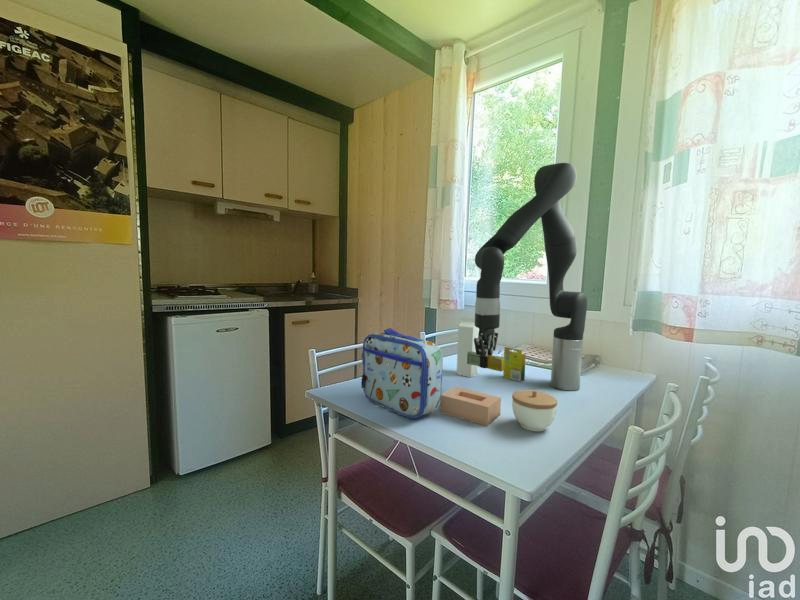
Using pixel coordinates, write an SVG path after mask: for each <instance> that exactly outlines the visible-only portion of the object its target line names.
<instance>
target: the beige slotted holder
mask: <svg viewBox="0 0 800 600" xmlns="http://www.w3.org/2000/svg"><path fill="white" fill-rule="evenodd" d="M501 407H502V397H501V396H498V395H493V394H489V393H484V392H480V391H476V390H472V389H467V388H463V387H459V386H454V387H452V388H450V389H448V390H447V391H445V392H443V393H441V399H440V405H439V413H440V414H445V415H448V416H451V417H455V418H458V419H463V420H465V421H469V422H471V423H476V424H479V425H483V426H486V427H488V426H490V425H491V424H492V423H493V422H494V421H495V420H496V419H498V418H499V417H500V416H501V410H502V409H501Z"/></svg>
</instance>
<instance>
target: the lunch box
mask: <svg viewBox="0 0 800 600" xmlns="http://www.w3.org/2000/svg"><path fill="white" fill-rule="evenodd" d="M443 355H444V354H443V351H442V350H441V348H440V346H439V345H438V344H436V343H434V342H432V341H429V340H425V339H422V338H417V337H415V336H410V335H404V334H402V333H400V332H397V331H396V330H394V329H393V328H392V327H389V328H386V329H384V330H383V332H381V333H376V332H375V333H371V334H368V335H367V336H365V338H364V340H363V344H362V353H361V357H360V358H361V359H362V360H361V361H362V364H363V365H362V375H361V389H363V393H364V395H365V397H366V399H368V400H369V401H370V402H371V403H374V404H376V405H378V406H380V407H383V408H384V409H387V410H388V411H390V412H394V413H396V414H399V415H400V416H401V415H402V416H405V417H407V418H409V419H410V418H411V419H420V417H422V416H424V415H427V414H432V413H435V412H437V411H438V409H440V399H441V394H442V384H443V383H442V380H443V365H444V356H443Z"/></svg>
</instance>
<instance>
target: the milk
mask: <svg viewBox="0 0 800 600" xmlns="http://www.w3.org/2000/svg"><path fill="white" fill-rule="evenodd" d="M457 331H458V332H457V354H456V355H457V356H456V357H457V358H456V375H457V374H459V375H458V376H461V375H463V377H466V376H467V377H466V378H473V377H474V376H476V375H478V368H479V366H475V365H470V364H467V353H468V352H470V351H473V352H476V349H475V344H474V338H478V333H479V328H477V327H475V317H467V316H462V317H461V321H460V323H459V325H458V326H457Z"/></svg>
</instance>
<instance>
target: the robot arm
mask: <svg viewBox="0 0 800 600" xmlns="http://www.w3.org/2000/svg"><path fill="white" fill-rule="evenodd" d="M577 173H578V172H577V170H576V168H575V166H574V165H573V164H571V163H569V162H560V163H559V162H558V163H552V164H546V165H544V166H541V167H539V168H538V170H537V171H536V174H535V175H534V181H533V182H534V185H533V186H534V192H535V196H533V197H532V198H531V199H530V200H529V201H528V202H526V203H525V204H524V205H522V206H521V207H519V208H518V209H517V210H516V211H514V212H513V213H512V214H511V215H510V216H509V217H508V218H507V219H506V220H505V221H504V223H502V225H501V226H500V228H499V229H498V230H497V231H496V233H494V235H493V236H492V237H491V238H489V239H488V240H486V242H485V243H484V244H483V245H482V246H481V247H480V248H479V249H478V251H477V252H476V254H475V255H474V263H475V266H476V267H477V268H478V269H480V277H479V279H478V280H477V282H476V291H475V295H476V298H475V305H474V318H475V327H477V328H479V333H478V338H474V344H475V349H476V354H477V355H479V356H480V367H479V368H480V369H488V368H487V358H488V357H487V355H493V354H494V352H496V348H497V342H498V337H499V332H495V331H496V329H498V328H499V327H500V321H501V320H500V319H501V318H500V317H501V302H500V301H501V300H500V297H501V296H500V292H501V291H500V289H501V287H500V286H501V282H502V281H501V280H502V279H503V278H502V277H503V272H504V267H505V256H504V255H505V254H506V252H507V251H509V250H511V249H513V248H515V246H517V244H518V243H519V242H520V241H521V240H522V238H523V237H524V236H525V235H526V234H527V232H528V231H529V230H530V229H531V228H532V227H533V226H534V224H536V222H537V221H539V220H540V219H541V220H540V221H541V225H542V226H541V227H542V235H543V243H544V251H545V257H546V264H547V272H548V285H549V286H548V291H549V292H548V293H549V295H548V297H549V308H550V311H551V314H552V315H553V316H554V317H555V318H556V317H557V318H562V319H570V321H569V323H568V324H567V325H564V326H558V327H556V328H554V329H553V338H552V354H551V356H552V357H551V371H550V373H551V374H550V385H551V386H552V387H554V388H556V389H558V390H565V391H578V390H580V388H581V387H580V386H581V375H582V361H583V358H582V357H583V343H584V333H585V327H586V319H587V317H586V316H587V310H588V297H587V295H586V294H585V293H584V292H581V291H569V290H568V291H566V290H564V278H565V277H566V274H567V273H568V271H569V269H570V268H571V266H572V265H573V262H574V261H575V259H576V256H577V241H576V235H575V231H574V229H573V226H572V225H571V223H570V222H569V220H568V218H567V217H566V216H565V214H564V212H563V209H562V206H561V200H562V198H564V197H565V196H566V195H567V194H568V193H569V192H570V191H572V189H573V188H574V187H575V184H576V182H577V179H578V175H577Z"/></svg>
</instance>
